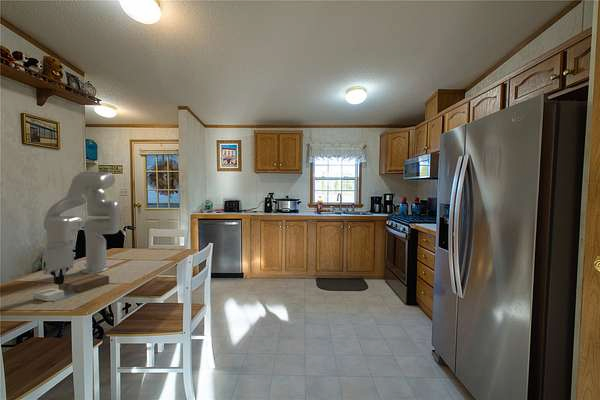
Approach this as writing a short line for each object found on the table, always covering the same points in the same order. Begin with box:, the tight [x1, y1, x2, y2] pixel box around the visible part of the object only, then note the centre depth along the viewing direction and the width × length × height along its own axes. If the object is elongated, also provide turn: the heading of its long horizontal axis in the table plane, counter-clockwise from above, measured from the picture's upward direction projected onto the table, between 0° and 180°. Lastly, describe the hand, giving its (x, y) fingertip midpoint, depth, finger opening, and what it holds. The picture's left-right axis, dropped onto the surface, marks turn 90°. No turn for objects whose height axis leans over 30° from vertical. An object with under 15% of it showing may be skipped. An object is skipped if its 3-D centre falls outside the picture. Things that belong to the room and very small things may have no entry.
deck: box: [58, 273, 110, 295], centre depth 125 cm, size 14×14×4 cm
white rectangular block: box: [33, 287, 64, 302], centre depth 111 cm, size 9×6×2 cm, turn 72°
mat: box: [33, 288, 79, 303], centre depth 114 cm, size 15×9×1 cm, turn 71°
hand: (59, 283), depth 115 cm, fingers closed
